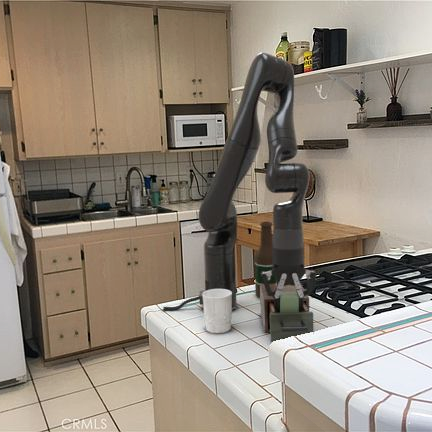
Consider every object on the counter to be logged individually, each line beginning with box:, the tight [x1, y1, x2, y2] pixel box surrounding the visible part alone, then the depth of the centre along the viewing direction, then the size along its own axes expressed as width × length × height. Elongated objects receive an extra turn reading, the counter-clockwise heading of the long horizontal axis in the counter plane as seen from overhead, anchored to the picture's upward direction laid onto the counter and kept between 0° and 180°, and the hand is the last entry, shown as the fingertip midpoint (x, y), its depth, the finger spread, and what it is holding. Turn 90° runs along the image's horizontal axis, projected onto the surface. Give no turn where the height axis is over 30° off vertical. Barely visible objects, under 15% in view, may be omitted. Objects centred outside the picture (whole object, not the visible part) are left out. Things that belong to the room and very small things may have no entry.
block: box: [280, 292, 299, 313], centre depth 126 cm, size 4×4×4 cm
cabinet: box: [259, 282, 310, 334], centre depth 137 cm, size 14×12×9 cm
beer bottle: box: [254, 221, 277, 299], centre depth 160 cm, size 8×8×24 cm
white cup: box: [202, 289, 233, 334], centre depth 135 cm, size 8×8×10 cm
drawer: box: [268, 301, 314, 343], centre depth 126 cm, size 17×10×7 cm, turn 179°
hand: (288, 311), depth 126 cm, fingers closed on block, 4 cm apart
